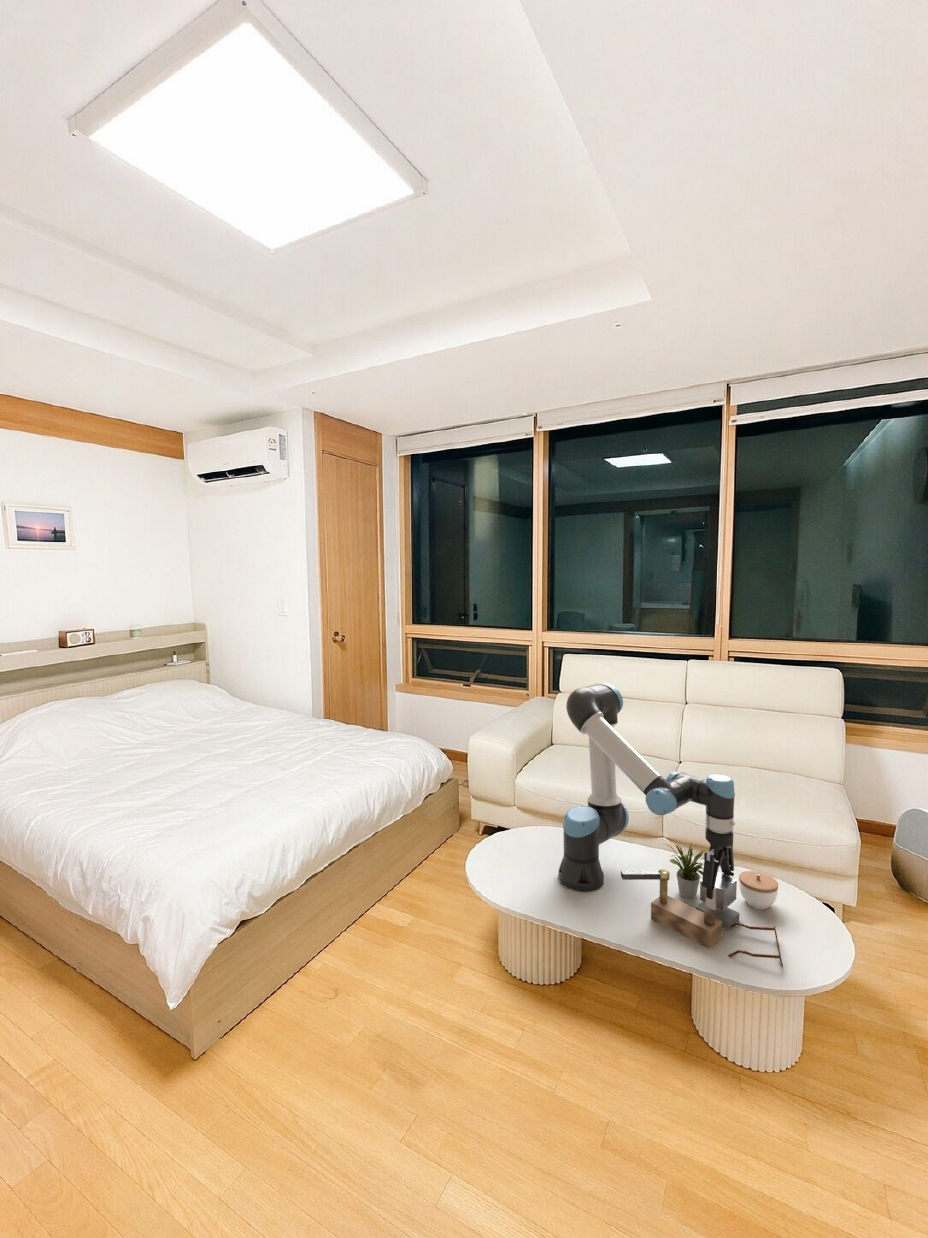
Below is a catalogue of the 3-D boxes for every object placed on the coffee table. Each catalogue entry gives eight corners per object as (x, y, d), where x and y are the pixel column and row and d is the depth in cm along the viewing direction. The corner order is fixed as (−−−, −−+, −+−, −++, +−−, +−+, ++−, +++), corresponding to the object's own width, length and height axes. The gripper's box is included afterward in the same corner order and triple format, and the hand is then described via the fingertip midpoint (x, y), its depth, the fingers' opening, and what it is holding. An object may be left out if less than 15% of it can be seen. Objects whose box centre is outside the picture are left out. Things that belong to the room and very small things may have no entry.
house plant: (656, 899, 175) (657, 849, 174) (663, 877, 188) (664, 831, 186) (705, 911, 169) (707, 860, 167) (709, 888, 181) (710, 840, 180)
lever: (667, 874, 167) (667, 869, 167) (671, 880, 164) (671, 875, 164) (620, 875, 167) (620, 869, 167) (623, 880, 164) (623, 875, 164)
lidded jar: (772, 918, 165) (773, 888, 164) (733, 904, 172) (734, 875, 171) (781, 902, 173) (782, 874, 172) (744, 889, 180) (745, 862, 179)
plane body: (650, 918, 166) (651, 880, 165) (663, 909, 170) (663, 871, 169) (710, 949, 152) (711, 907, 151) (721, 937, 156) (722, 897, 155)
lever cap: (699, 900, 165) (700, 880, 164) (713, 889, 170) (713, 870, 170) (723, 910, 159) (723, 890, 159) (736, 899, 165) (736, 880, 164)
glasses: (783, 971, 144) (784, 953, 143) (727, 958, 149) (728, 940, 149) (777, 940, 156) (778, 923, 155) (726, 929, 161) (726, 912, 161)
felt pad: (695, 915, 167) (695, 907, 167) (706, 905, 171) (706, 898, 171) (728, 931, 159) (729, 922, 159) (739, 921, 164) (739, 913, 164)
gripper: (715, 844, 153) (713, 922, 155) (747, 821, 167) (746, 893, 169) (689, 835, 159) (688, 910, 161) (723, 813, 173) (721, 883, 175)
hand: (717, 901), depth 165 cm, fingers closed on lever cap, 8 cm apart
